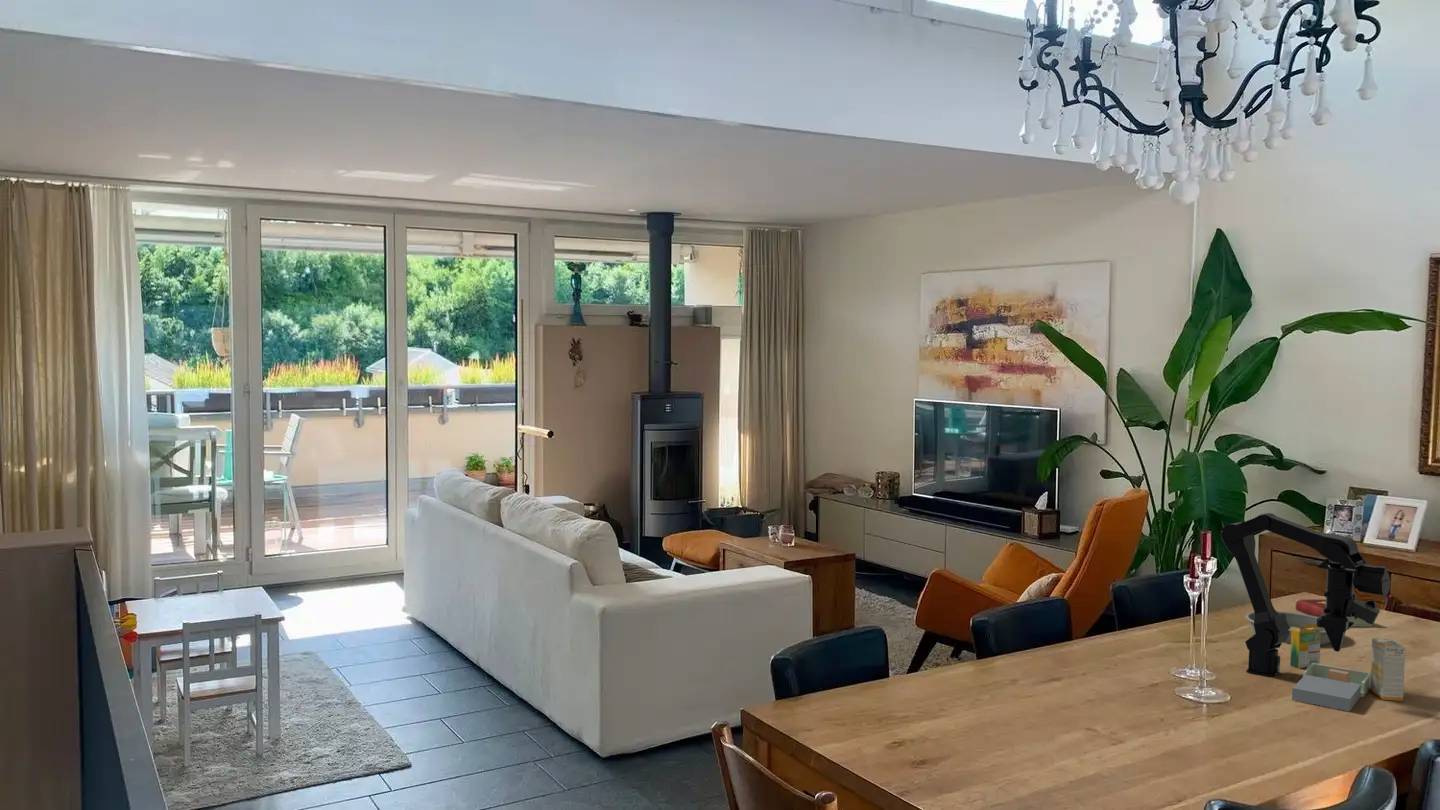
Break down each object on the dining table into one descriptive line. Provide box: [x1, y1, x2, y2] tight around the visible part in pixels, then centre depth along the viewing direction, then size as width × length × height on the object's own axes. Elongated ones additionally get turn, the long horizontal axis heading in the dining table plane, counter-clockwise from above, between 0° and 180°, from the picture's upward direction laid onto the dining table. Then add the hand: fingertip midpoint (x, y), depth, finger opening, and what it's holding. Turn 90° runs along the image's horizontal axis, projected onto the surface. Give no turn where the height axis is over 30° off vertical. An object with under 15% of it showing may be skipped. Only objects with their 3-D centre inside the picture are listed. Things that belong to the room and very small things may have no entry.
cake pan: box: [1245, 610, 1331, 645], centre depth 318 cm, size 25×25×4 cm
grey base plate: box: [1291, 675, 1361, 712], centre depth 259 cm, size 12×14×3 cm
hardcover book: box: [1294, 598, 1373, 627], centre depth 339 cm, size 12×21×4 cm, turn 4°
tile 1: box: [1328, 669, 1349, 683], centre depth 267 cm, size 4×4×2 cm
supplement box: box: [1369, 637, 1406, 702], centre depth 262 cm, size 8×5×13 cm, turn 168°
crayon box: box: [1289, 624, 1321, 669], centre depth 286 cm, size 7×3×12 cm, turn 108°
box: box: [1302, 663, 1371, 698], centre depth 269 cm, size 13×11×4 cm
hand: (1337, 651), depth 266 cm, fingers closed
